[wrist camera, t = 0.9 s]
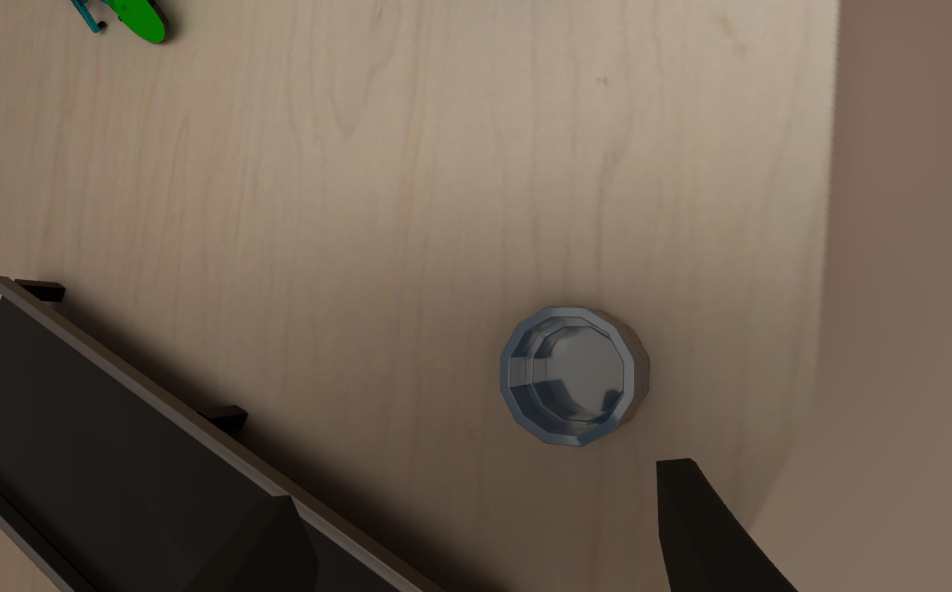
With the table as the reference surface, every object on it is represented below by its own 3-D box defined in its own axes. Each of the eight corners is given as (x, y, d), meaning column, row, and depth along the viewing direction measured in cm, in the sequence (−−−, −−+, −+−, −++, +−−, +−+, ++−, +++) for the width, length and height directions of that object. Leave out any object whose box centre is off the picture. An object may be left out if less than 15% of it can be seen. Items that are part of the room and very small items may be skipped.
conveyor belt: (529, 602, 26) (493, 643, 23) (422, 839, 28) (371, 914, 24) (57, 280, 41) (-11, 275, 37) (1, 446, 42) (-71, 456, 38)
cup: (675, 398, 25) (661, 407, 21) (567, 451, 26) (538, 468, 23) (613, 290, 26) (590, 280, 22) (514, 346, 28) (478, 347, 24)
